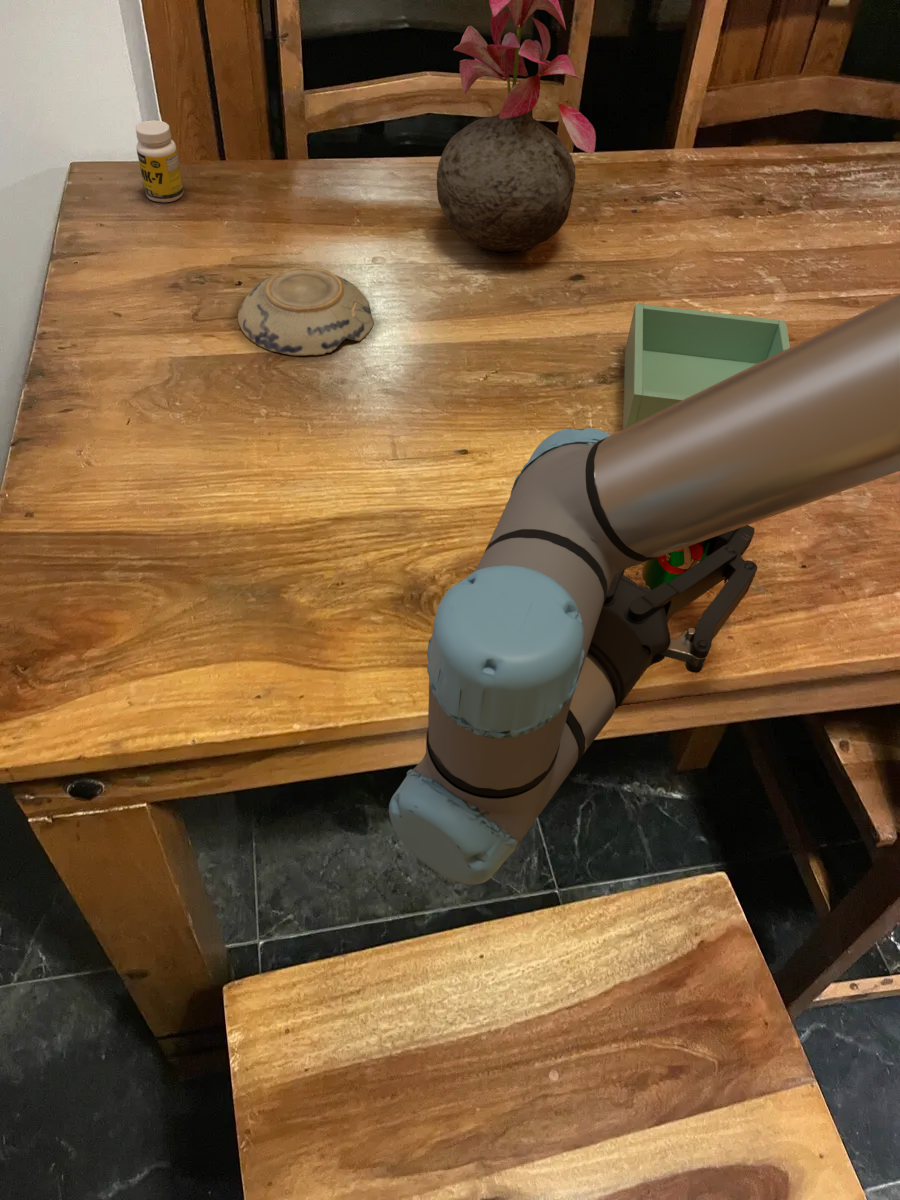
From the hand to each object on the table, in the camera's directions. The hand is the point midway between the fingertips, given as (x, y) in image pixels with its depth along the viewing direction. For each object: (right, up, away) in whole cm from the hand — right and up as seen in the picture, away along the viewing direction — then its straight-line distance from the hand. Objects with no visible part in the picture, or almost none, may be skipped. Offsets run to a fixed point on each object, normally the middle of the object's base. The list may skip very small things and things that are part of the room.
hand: (719, 487), depth 74 cm
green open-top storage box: (+4, +11, +22) cm, 25 cm away
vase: (-15, +35, +41) cm, 57 cm away
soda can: (-3, -8, +2) cm, 9 cm away
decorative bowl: (-37, +22, +29) cm, 52 cm away
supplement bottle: (-58, +43, +45) cm, 85 cm away
